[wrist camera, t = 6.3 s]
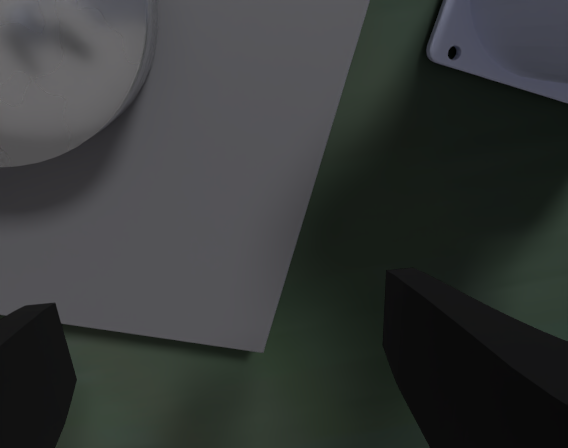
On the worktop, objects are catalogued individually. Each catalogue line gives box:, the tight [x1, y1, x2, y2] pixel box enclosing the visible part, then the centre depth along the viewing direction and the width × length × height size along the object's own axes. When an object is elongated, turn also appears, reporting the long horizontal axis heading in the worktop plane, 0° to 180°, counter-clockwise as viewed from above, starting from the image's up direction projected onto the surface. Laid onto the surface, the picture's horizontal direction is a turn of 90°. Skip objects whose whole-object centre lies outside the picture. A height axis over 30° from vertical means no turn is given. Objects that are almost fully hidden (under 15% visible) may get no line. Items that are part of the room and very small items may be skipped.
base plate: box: [0, 0, 370, 353], centre depth 14 cm, size 22×23×2 cm
